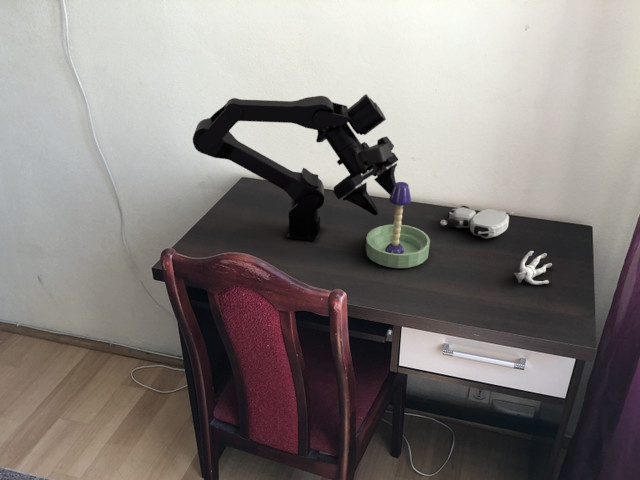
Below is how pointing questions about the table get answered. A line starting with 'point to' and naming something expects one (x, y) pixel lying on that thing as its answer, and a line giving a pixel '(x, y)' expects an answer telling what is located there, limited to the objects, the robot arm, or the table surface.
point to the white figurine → (532, 270)
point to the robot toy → (478, 221)
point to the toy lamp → (398, 215)
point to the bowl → (410, 240)
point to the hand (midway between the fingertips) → (388, 206)
